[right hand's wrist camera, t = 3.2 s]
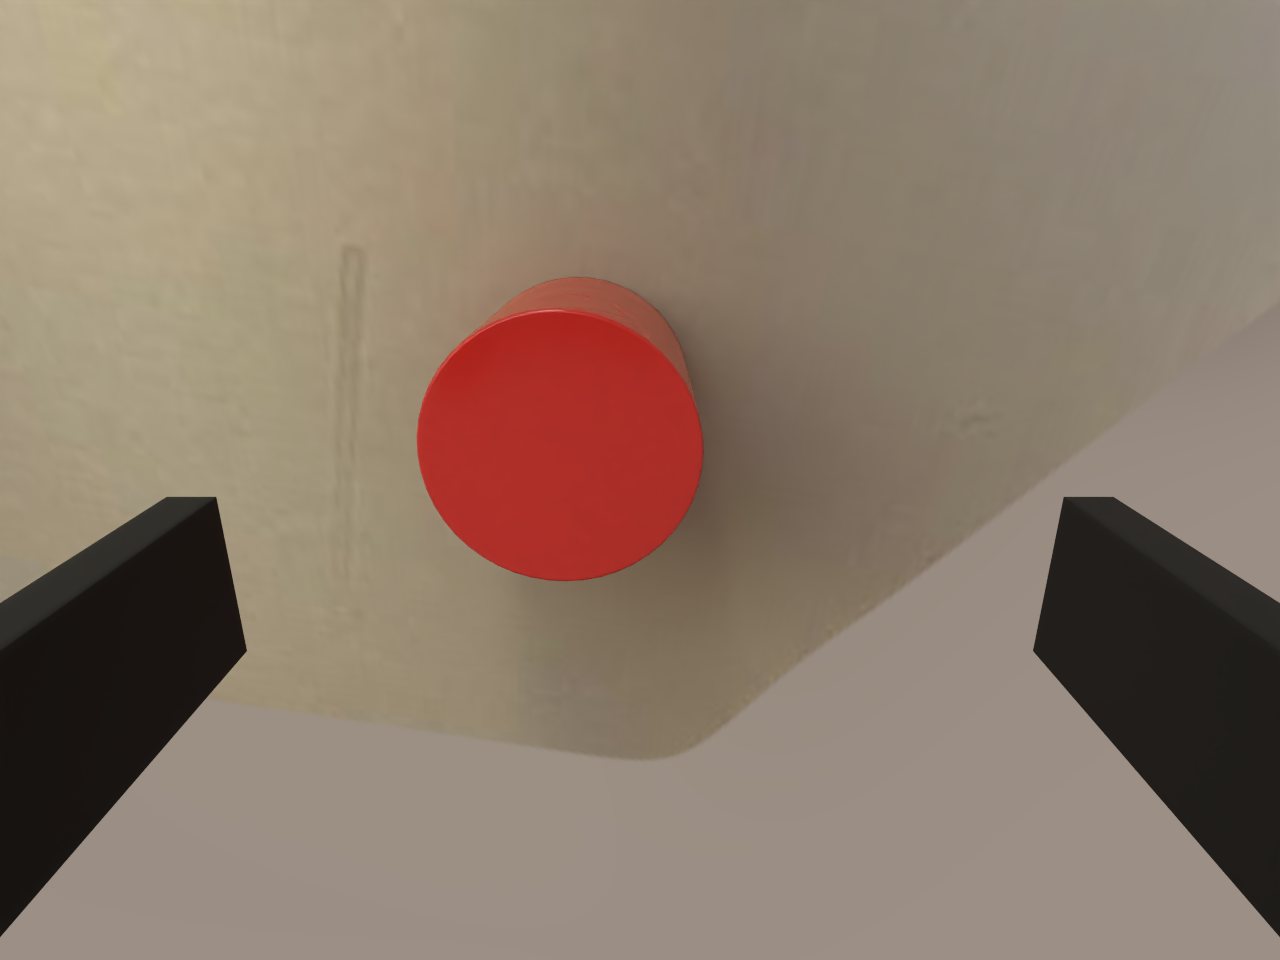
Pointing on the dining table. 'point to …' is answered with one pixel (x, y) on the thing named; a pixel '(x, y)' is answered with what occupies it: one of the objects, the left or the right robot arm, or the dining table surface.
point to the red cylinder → (563, 433)
